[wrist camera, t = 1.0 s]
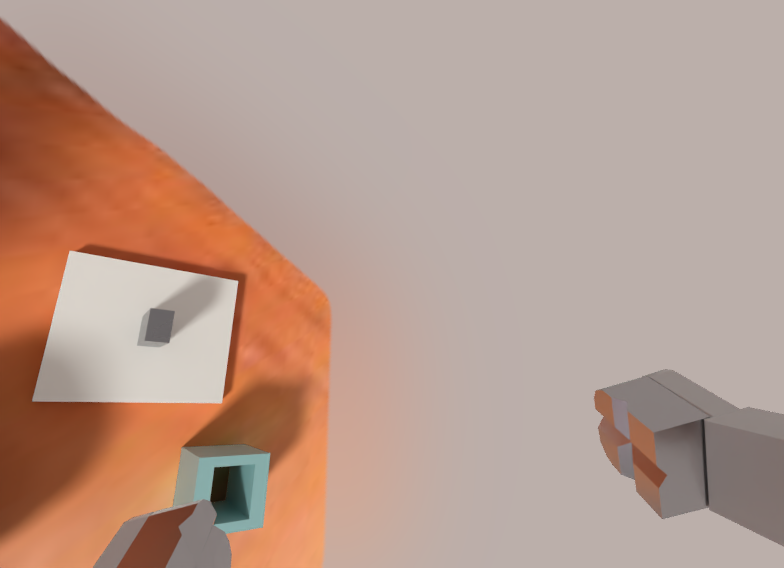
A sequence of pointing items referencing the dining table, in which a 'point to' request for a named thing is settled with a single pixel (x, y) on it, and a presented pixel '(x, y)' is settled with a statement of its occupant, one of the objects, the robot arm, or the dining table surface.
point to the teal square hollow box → (242, 488)
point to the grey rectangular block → (156, 328)
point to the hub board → (136, 335)
